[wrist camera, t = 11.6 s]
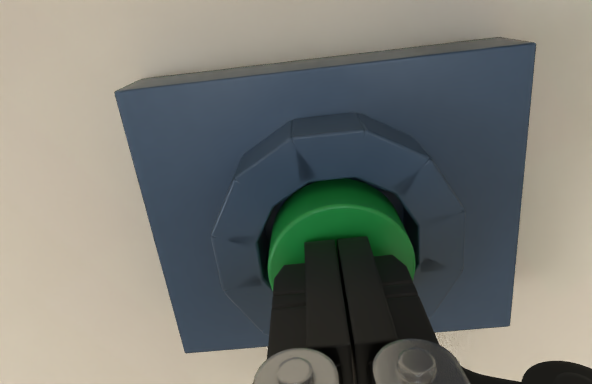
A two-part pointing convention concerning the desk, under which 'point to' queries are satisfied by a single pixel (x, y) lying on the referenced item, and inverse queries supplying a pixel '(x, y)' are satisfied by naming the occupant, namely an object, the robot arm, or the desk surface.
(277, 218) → the button
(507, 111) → the housing
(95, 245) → the desk surface
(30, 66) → the desk surface
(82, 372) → the desk surface
